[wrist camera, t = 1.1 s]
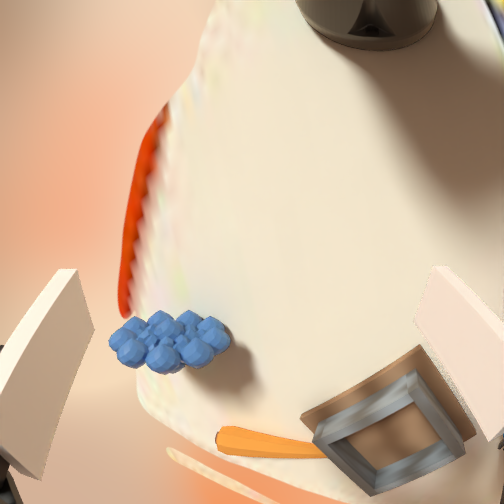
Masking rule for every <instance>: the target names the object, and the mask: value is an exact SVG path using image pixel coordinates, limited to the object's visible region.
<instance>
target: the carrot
mask: <svg viewBox="0 0 504 504" xmlns="http://www.w3.org/2000/svg"><path fill="white" fill-rule="evenodd" d="M215 443H216V444H217V449H218V451H220V452H222V453H225V454H227V455H236V456H248V457H264V458H327V456H326V455H325V454H324V453H323V452H322V451H321V450H320V449H319V448H318V447H317V446H315V445H314V444H312V443H306V442H301V441H295V440H290V439H285V438H280V437H276V436H271V435H267V434H263V433H258V432H254V431H250V430H246V429H243V428H239V427H235V426H224V427H222V428H221V429H220V431H219V432H217V434H216V437H215Z"/></svg>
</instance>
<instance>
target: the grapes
mask: <svg viewBox="0 0 504 504" xmlns="http://www.w3.org/2000/svg"><path fill="white" fill-rule="evenodd" d="M230 342H231V340H230V337H229V335H228V334H227V333H225V328H224V325H223V324H222V323H221V322H220V321H219V320H217V319H215V318H213V317H211V316H209V317H208V318H206V319H204V320H202V318H201V317H200V316H199V315H198V314H196V313H194V312H192V311H190V310H188V311H186V312H185V313H183V314H181V315H180V316H179V317H178V318H177V319H176V321H175V320H174V318H172V317H171V316H170V315H169V314H167V313H165V312H163V311H161V310H160V311H158V312H156V313H155V314H154V315H152V316H151V317H150V318H149V319H148V321H147V323H146V322H145V321H144V320H142V319H140V318H138V317H135V316H134V317H133V318H131V319H130V320H128V321H127V322H126V323H125V324H124V325H123V327H121V328H120V329H118V330H117V331H116V332H115V333H113V335H111V337H110V339H109V346H110V347H111V348H112V350H113V351H115V352H117V358H118V360H119V361H120V362H121V363H122V364H124V365H126V366H128V367H131V368H135V369H136V368H139V367H141V366H142V365H144V364H145V363H146V364H147V366H148V367H149V368H150V369H151V370H153V371H155V372H157V373H160V374H164V375H166V374H168V373H172V374H173V373H176V372H178V371H180V370H181V369H182V368H183V367H185V365H186V364H187V365H188V366H190V367H193V368H196V369H199V368H202V367H204V366H206V365H207V364H209V363H210V362H211V361H212V360H213V357H214V356H216V355H218V354H220V353H222V352H224V351H225V350H226V349H227V348H228V347H229V345H230Z"/></svg>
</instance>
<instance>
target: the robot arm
mask: <svg viewBox="0 0 504 504" xmlns="http://www.w3.org/2000/svg"><path fill="white" fill-rule="evenodd" d="M295 1H296V3H297V5H298V7H299V9H300V11H301V13H302V15H303V17H304V18H305V19H306V21H307V22H308V23H309V24H310V25H311V26H312V27H313V28H314V29H315V30H316V31H318V32H319V33H321V34H322V35H324V36H325V37H327V38H329V39H331V40H333V41H335V42H337V43H340V44H343V45H346V46H349V47H353V48H357V49H363V50H374V51H383V50H393V49H398V48H402V47H405V46H408V45H411V44H413V43H415V42H417V41H418V40H420V39H421V38H422V37H424V36H425V35H426V34H427V32H428V31H429V30H430V28H431V27H432V25H433V22H434V19H435V15H436V11H437V0H295ZM413 322H414V324H415V325H416V326H417V328H418V329H419V331H420V332H421V333H422V335H423V336H424V338H425V339H426V341H427V342H428V344H429V345H430V347H431V348H432V350H433V351H434V353H435V354H436V356H437V357H438V359H439V360H440V362H441V363H442V365H443V366H444V368H445V369H446V371H447V372H448V374H449V376H450V377H451V379H452V380H453V382H454V384H455V385H456V387H457V388H458V390H459V392H460V393H461V395H462V397H463V398H464V400H465V401H466V403H467V405H468V407H469V408H470V410H471V412H472V413H473V415H474V417H475V419H476V420H477V422H478V424H479V426H480V427H481V429H482V431H483V433H484V435H485V436H486V438H487V440H488V442H490V441H492V440H494V439H495V438H497V437H499V436H501V435H502V434H503V433H504V323H503V322H502V321H501V320H500V319H499V318H498V317H497V316H496V315H495V314H494V312H493V311H492V310H491V309H490V308H489V307H488V306H487V305H486V304H485V303H484V302H483V301H482V300H481V299H480V298H479V297H478V296H477V295H476V294H475V293H474V292H473V291H472V290H471V289H470V288H469V287H468V286H467V285H466V284H465V283H464V282H463V281H462V280H461V279H460V278H459V277H458V276H457V275H456V274H455V273H454V272H453V271H452V270H451V269H450V268H449V267H448V266H446V265H439V266H432V269H431V272H430V275H429V278H428V281H427V284H426V287H425V290H424V293H423V296H422V299H421V301H420V304H419V307H418V309H417V312H416V315H415V317H414V320H413ZM94 331H95V329H94V326H93V323H92V320H91V317H90V314H89V311H88V307H87V304H86V300H85V297H84V293H83V290H82V286H81V283H80V279H79V275H78V271H77V269H59V270H58V271H57V273H56V274H55V275H54V277H53V278H52V279H51V280H50V282H49V283H48V284H47V285H46V287H45V288H44V290H43V291H42V292H41V294H40V295H39V296H38V298H37V299H36V300H35V302H34V303H33V305H32V306H31V307H30V309H29V310H28V311H27V313H26V314H25V316H24V317H23V319H22V320H21V322H20V323H19V325H18V326H17V328H16V329H15V331H14V332H13V333H12V335H11V336H10V338H9V340H8V341H7V343H6V344H5V346H4V345H0V504H23V502H22V499H21V497H20V495H19V492H18V490H17V487H16V485H15V482H14V479H13V477H12V476H11V474H10V472H9V471H8V468H9V465H11V466H13V467H14V468H15V469H16V470H17V471H18V472H20V473H21V474H24V475H26V476H29V477H31V478H34V479H37V480H40V481H41V479H42V476H43V472H44V468H45V465H46V461H47V457H48V454H49V450H50V447H51V444H52V441H53V438H54V435H55V431H56V428H57V425H58V422H59V419H60V416H61V414H62V411H63V408H64V405H65V402H66V400H67V397H68V394H69V391H70V389H71V386H72V384H73V381H74V378H75V376H76V373H77V371H78V368H79V366H80V363H81V361H82V359H83V356H84V354H85V351H86V349H87V347H88V344H89V342H90V340H91V337H92V335H93V333H94ZM503 446H504V439H503V440H502V441H501V443H500V444H499V446H498V449H501V448H502V447H503ZM503 450H504V449H503ZM500 504H504V486H503V492H502V497H501V501H500Z"/></svg>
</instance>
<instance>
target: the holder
mask: <svg viewBox="0 0 504 504" xmlns="http://www.w3.org/2000/svg"><path fill="white" fill-rule="evenodd" d="M300 420H301V421H302V422H303V423H304V424H305V425H306V426H307V427H308V428H309V429H310V430H311V431H312V432H313V433H314V437H313V440H312V443H313V444H314V445H315V446H317V447H318V448H319V449H320V450H321V451H322V452H323V453H324V454H325V455H326V456H327V457H328V458H329V459H330V460H331V461H332V462H333V463H334V464H335V465H336V466H337V467H338V468H339V469H340V470H341V471H343V472H344V473H345V474H346V475H347V476H348V477H349V478H350V479H351V480H352V481H353V482H355V483H356V484H357V485H358V486H359V487H360V488H361V489H362V490H363V491H365V492H366V493H367V494H368V495H369V496H370V497H371V496H374V495H377V494H380V493H383V492H385V491H388V490H391V489H393V488H396V487H398V486H401V485H403V484H406V483H408V482H410V481H413V480H415V479H417V478H419V477H422V476H424V475H426V474H428V473H430V472H432V471H434V470H436V469H438V468H440V467H442V466H444V465H446V464H448V463H450V462H452V461H454V460H456V459H457V458H459V457H461V456H463V455H465V449H464V444H463V442H465V441H467V440H468V439H470V438H471V437H473V436H475V435H476V430H475V428H474V426H473V425H472V423H471V421H470V420H469V418H468V416H467V415H466V413H465V412H464V410H463V408H462V407H461V405H460V404H459V402H458V400H457V399H456V397H455V396H454V394H453V393H452V391H451V389H450V388H449V386H448V385H447V383H446V382H445V380H444V379H443V377H442V376H441V374H440V373H439V371H438V370H437V368H436V367H435V365H434V364H433V362H432V361H431V359H430V358H429V356H428V355H427V354H426V352H425V351H424V349H423V348H422V346H421V345H420V344H419V345H418V346H416V347H415V348H414V349H412V350H411V351H409V352H408V353H406V354H405V355H403V356H402V357H400V358H399V359H397V360H396V361H394V362H393V363H391V364H390V365H388V366H387V367H385V368H383V369H382V370H380V371H379V372H377V373H375V374H374V375H372V376H371V377H369V378H367V379H366V380H364V381H362V382H361V383H359V384H357V385H355V386H354V387H352V388H350V389H348V390H347V391H345V392H343V393H341V394H339V395H338V396H336V397H334V398H332V399H330V400H328V401H326V402H325V403H323V404H321V405H319V406H317V407H315V408H313V409H311V410H309V411H307V412H305V413H303V414H302V415H301V417H300Z"/></svg>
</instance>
